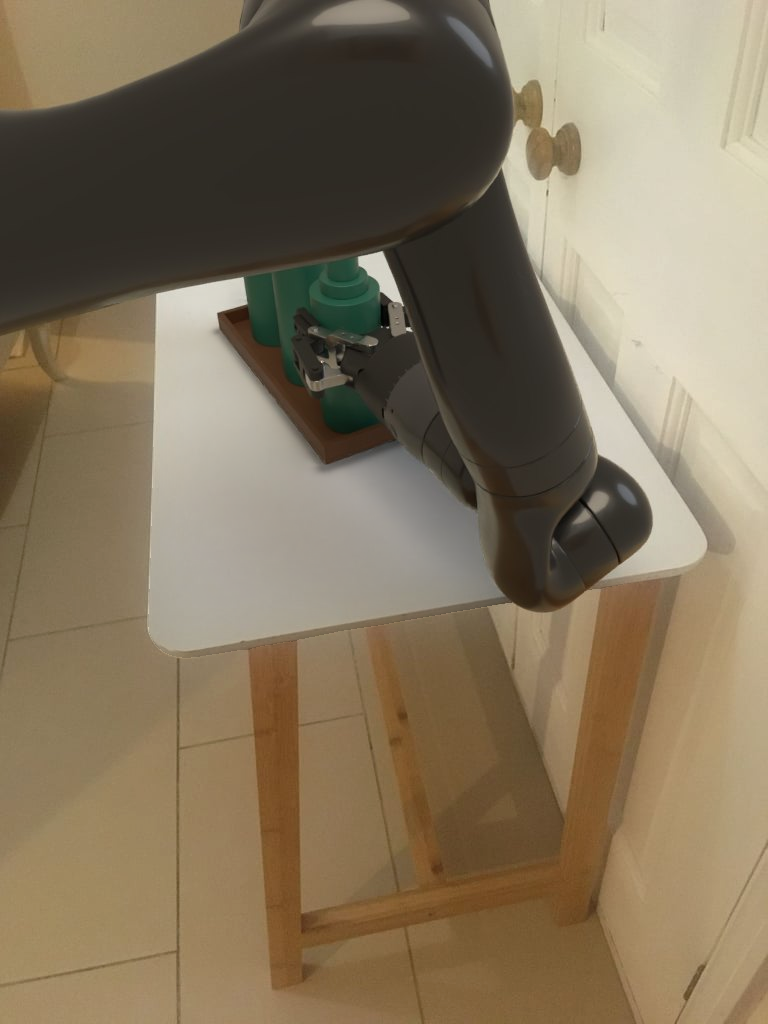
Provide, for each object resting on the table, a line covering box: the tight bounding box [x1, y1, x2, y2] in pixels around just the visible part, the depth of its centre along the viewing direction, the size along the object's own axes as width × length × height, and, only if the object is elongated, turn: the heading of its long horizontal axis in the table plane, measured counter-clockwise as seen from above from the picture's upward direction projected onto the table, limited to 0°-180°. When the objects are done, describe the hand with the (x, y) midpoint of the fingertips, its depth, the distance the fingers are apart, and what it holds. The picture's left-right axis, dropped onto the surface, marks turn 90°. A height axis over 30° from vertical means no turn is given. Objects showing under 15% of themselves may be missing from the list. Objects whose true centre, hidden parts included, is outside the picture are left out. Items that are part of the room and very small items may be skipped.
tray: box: [216, 303, 396, 465], centre depth 87 cm, size 27×10×2 cm, turn 28°
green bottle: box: [309, 257, 382, 434], centre depth 75 cm, size 6×6×18 cm
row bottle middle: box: [271, 263, 327, 387], centre depth 81 cm, size 6×6×18 cm
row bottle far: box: [242, 273, 281, 347], centre depth 87 cm, size 6×6×18 cm
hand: (334, 307), depth 76 cm, fingers closed on green bottle, 6 cm apart
